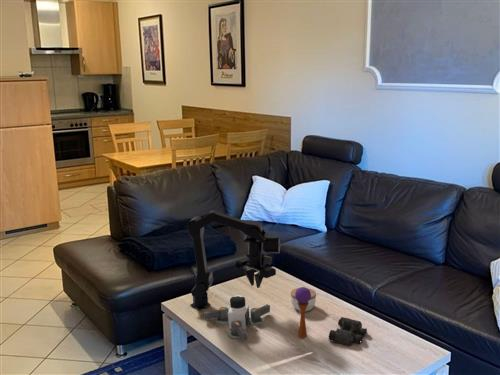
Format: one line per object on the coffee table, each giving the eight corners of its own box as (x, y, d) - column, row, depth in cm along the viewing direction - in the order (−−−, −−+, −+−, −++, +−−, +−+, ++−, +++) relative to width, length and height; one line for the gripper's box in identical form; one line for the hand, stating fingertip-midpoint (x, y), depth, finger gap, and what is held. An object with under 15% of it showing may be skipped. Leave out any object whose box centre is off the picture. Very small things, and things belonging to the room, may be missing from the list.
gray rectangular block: (229, 331, 191) (229, 321, 190) (239, 329, 193) (239, 319, 192) (240, 343, 182) (240, 332, 181) (250, 340, 184) (249, 330, 183)
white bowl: (287, 312, 208) (287, 292, 206) (294, 302, 218) (295, 282, 216) (312, 317, 204) (312, 296, 202) (318, 306, 214) (318, 286, 212)
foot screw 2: (255, 322, 198) (255, 312, 197) (248, 319, 200) (248, 309, 200) (272, 314, 205) (272, 304, 204) (265, 311, 207) (265, 301, 206)
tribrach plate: (204, 324, 198) (204, 323, 198) (238, 308, 212) (238, 307, 212) (236, 341, 185) (236, 339, 185) (271, 323, 199) (271, 321, 199)
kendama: (313, 335, 189) (314, 287, 185) (305, 341, 185) (305, 292, 180) (299, 330, 193) (300, 283, 188) (291, 337, 188) (292, 288, 184)
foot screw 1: (227, 315, 204) (227, 305, 203) (229, 319, 200) (229, 310, 199) (203, 318, 201) (203, 309, 200) (205, 323, 198) (205, 313, 197)
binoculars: (369, 330, 193) (369, 316, 191) (356, 350, 179) (357, 334, 178) (342, 324, 198) (342, 310, 197) (328, 342, 184) (328, 327, 183)
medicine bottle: (246, 329, 193) (244, 301, 190) (229, 329, 195) (226, 301, 192) (250, 320, 200) (247, 293, 197) (233, 320, 201) (230, 293, 198)
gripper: (284, 252, 203) (284, 287, 207) (252, 242, 216) (253, 275, 220) (266, 259, 196) (266, 295, 199) (234, 248, 209) (235, 282, 212)
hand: (255, 286), depth 208 cm, fingers open, 3 cm apart
